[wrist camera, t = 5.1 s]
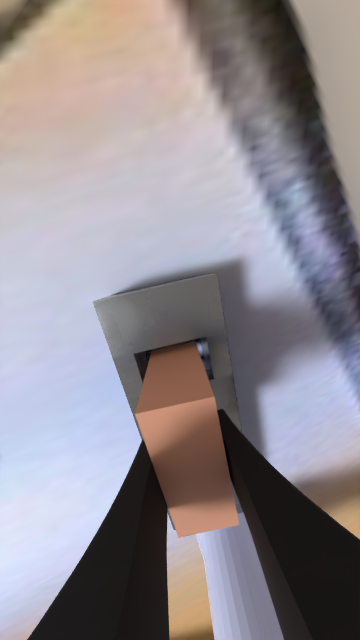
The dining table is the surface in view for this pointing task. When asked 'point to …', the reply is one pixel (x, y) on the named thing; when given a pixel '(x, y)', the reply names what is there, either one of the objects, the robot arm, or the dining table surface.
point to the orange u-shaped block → (186, 440)
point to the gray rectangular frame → (170, 336)
